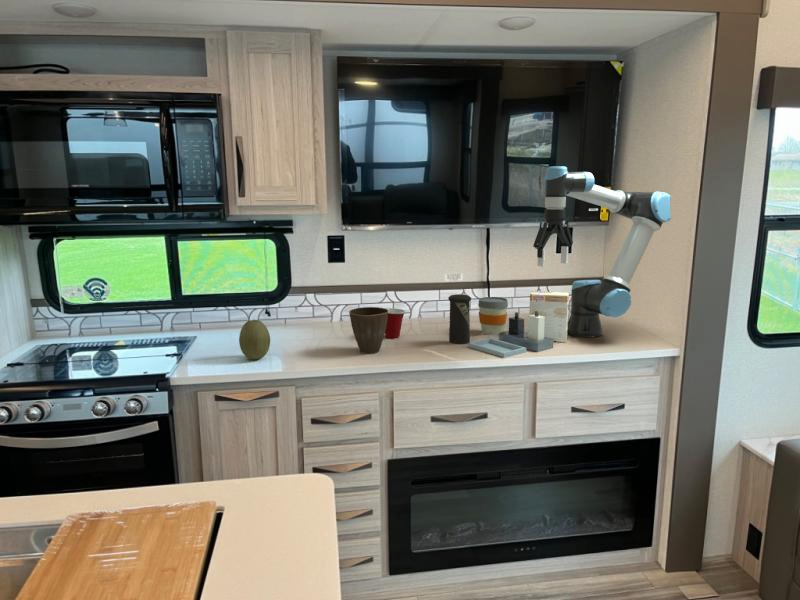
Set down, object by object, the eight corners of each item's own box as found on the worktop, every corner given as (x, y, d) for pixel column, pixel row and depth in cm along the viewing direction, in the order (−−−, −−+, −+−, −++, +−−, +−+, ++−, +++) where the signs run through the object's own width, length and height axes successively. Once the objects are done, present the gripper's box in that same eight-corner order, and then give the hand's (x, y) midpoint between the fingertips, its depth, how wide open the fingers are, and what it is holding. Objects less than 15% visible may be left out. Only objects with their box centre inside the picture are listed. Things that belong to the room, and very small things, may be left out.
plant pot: (375, 358, 220) (375, 316, 217) (342, 353, 227) (341, 312, 224) (395, 349, 233) (395, 309, 230) (363, 344, 240) (362, 305, 237)
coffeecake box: (567, 338, 246) (569, 292, 243) (565, 342, 240) (568, 295, 236) (530, 335, 251) (532, 290, 248) (528, 340, 245) (529, 293, 241)
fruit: (276, 355, 225) (274, 317, 222) (262, 364, 215) (260, 323, 212) (249, 353, 228) (247, 315, 225) (234, 362, 217) (231, 322, 215)
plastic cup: (409, 339, 248) (408, 311, 245) (384, 341, 245) (383, 312, 242) (401, 333, 258) (400, 306, 256) (377, 335, 255) (376, 307, 252)
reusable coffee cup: (485, 338, 248) (486, 303, 245) (472, 331, 260) (473, 297, 257) (512, 335, 252) (513, 301, 249) (498, 329, 263) (499, 296, 261)
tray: (490, 344, 239) (490, 337, 238) (526, 354, 224) (526, 347, 223) (468, 349, 232) (468, 342, 231) (504, 359, 217) (504, 353, 216)
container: (464, 347, 234) (465, 297, 231) (444, 344, 239) (444, 295, 235) (473, 342, 242) (474, 294, 238) (454, 339, 246) (454, 292, 243)
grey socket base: (514, 339, 245) (515, 309, 243) (553, 350, 229) (554, 317, 227) (498, 343, 240) (499, 312, 237) (537, 354, 224) (538, 320, 222)
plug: (543, 347, 230) (544, 311, 227) (537, 348, 227) (538, 312, 225) (533, 344, 233) (534, 309, 231) (527, 345, 231) (528, 310, 229)
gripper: (567, 207, 233) (565, 261, 237) (524, 209, 218) (523, 266, 222) (584, 207, 227) (581, 263, 231) (540, 209, 212) (538, 268, 216)
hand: (552, 264), depth 226 cm, fingers open, 13 cm apart
